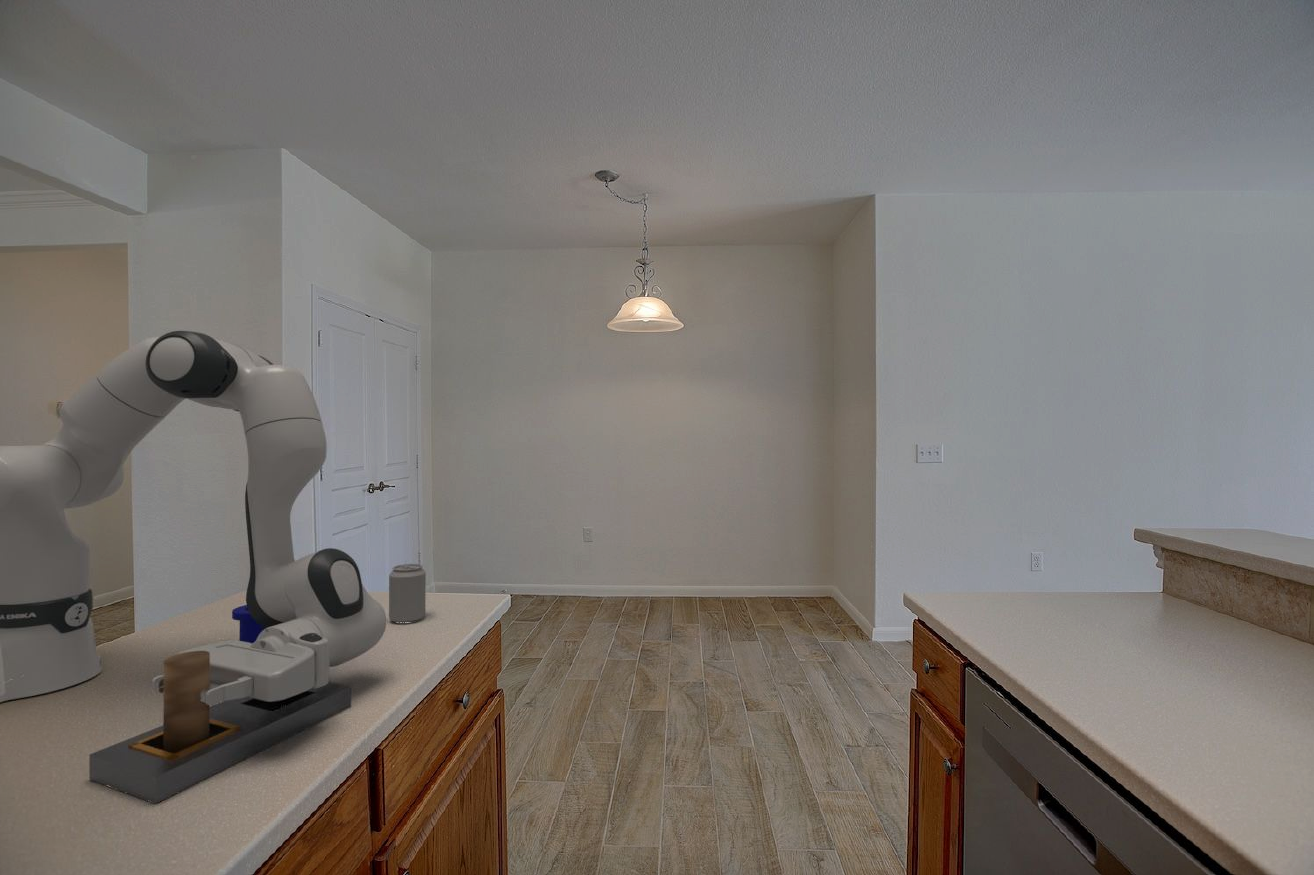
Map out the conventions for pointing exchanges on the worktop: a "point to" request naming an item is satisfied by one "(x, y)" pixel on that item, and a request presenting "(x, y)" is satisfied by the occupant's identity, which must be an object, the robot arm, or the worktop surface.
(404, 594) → the can
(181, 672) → the peg
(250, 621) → the mount
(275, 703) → the grey slotted board
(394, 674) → the worktop surface
